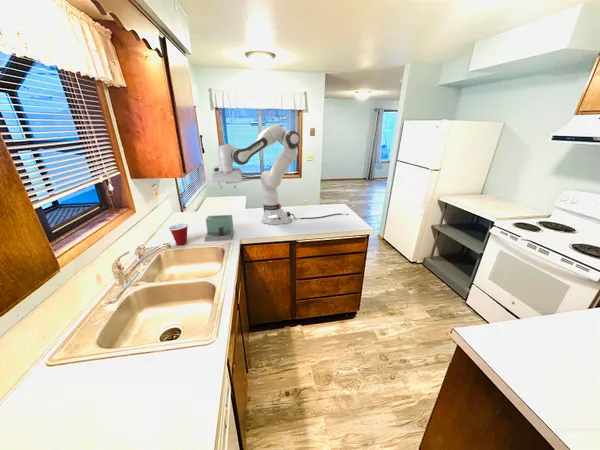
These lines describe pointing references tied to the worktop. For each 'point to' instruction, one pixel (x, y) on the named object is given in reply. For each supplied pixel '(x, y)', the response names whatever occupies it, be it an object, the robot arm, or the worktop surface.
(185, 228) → the plastic cup
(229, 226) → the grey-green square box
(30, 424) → the worktop surface
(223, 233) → the slider
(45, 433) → the worktop surface
